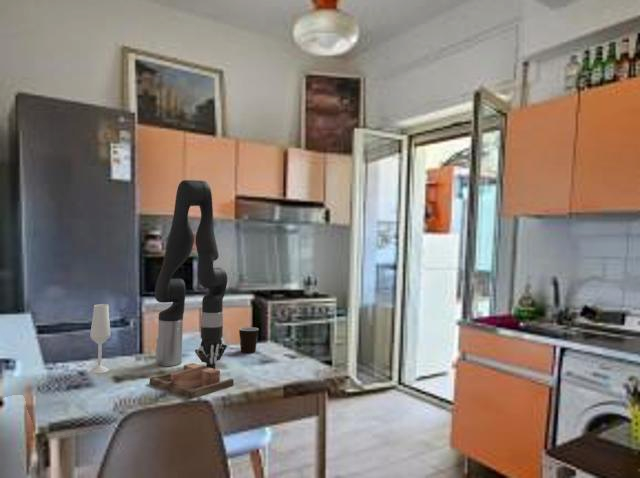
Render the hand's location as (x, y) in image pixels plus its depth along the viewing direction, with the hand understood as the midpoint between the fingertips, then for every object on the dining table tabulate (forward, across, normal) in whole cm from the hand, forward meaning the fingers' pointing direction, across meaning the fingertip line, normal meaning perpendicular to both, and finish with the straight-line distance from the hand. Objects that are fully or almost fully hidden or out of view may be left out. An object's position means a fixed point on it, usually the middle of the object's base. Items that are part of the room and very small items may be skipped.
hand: (210, 373), depth 163 cm
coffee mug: (+2, -39, -20) cm, 44 cm away
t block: (+2, +9, 0) cm, 9 cm away
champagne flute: (+2, +20, -38) cm, 43 cm away
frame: (+2, +7, 0) cm, 8 cm away
